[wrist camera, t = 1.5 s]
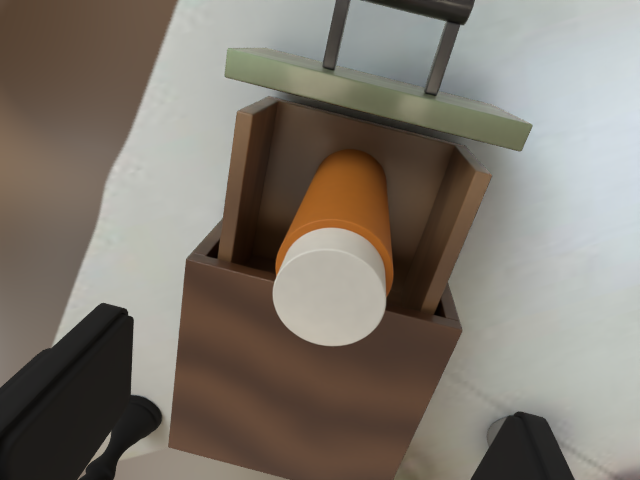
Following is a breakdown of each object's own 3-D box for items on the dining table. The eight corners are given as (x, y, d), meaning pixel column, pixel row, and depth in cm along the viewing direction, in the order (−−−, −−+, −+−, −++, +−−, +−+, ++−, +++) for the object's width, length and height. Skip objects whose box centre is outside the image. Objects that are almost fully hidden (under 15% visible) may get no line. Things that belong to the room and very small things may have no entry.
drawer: (278, -45, 22) (241, -80, 16) (527, 17, 22) (586, 5, 16) (234, 251, 30) (197, 304, 24) (417, 298, 30) (428, 364, 24)
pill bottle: (303, 162, 25) (242, 261, 14) (373, 138, 24) (372, 223, 13) (328, 226, 27) (292, 364, 15) (395, 206, 26) (411, 338, 14)
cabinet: (236, 202, 29) (185, 258, 22) (440, 254, 29) (463, 330, 21) (213, 360, 36) (167, 447, 28) (380, 404, 35) (381, 504, 28)
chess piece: (132, 433, 41) (62, 543, 32) (107, 399, 39) (27, 505, 30) (170, 425, 40) (109, 537, 31) (146, 390, 38) (75, 497, 29)
